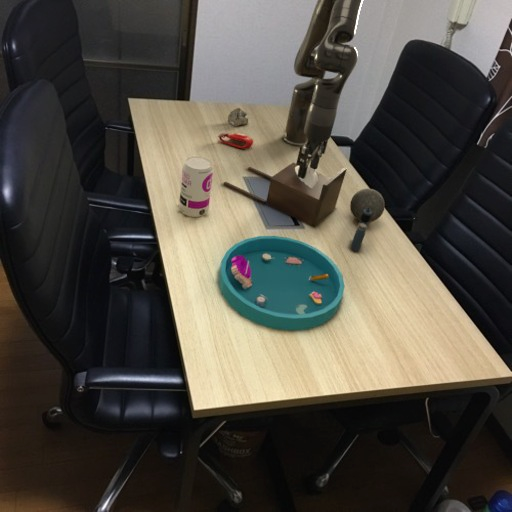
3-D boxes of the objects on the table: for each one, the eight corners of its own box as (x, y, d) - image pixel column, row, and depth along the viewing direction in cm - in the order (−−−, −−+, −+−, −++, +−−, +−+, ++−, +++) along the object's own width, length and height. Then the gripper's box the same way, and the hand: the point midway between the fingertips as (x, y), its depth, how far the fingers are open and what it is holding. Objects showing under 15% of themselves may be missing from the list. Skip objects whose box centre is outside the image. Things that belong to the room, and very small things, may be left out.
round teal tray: (219, 242, 134) (221, 224, 130) (329, 253, 138) (334, 235, 134) (218, 325, 110) (221, 306, 107) (351, 335, 114) (358, 316, 111)
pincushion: (290, 167, 153) (293, 150, 149) (309, 168, 154) (313, 151, 151) (300, 188, 144) (305, 171, 140) (320, 189, 145) (325, 172, 142)
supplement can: (213, 208, 146) (219, 162, 137) (198, 221, 140) (203, 173, 130) (188, 198, 148) (193, 152, 139) (173, 211, 142) (176, 163, 132)
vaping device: (361, 243, 144) (374, 207, 137) (358, 253, 140) (371, 217, 133) (352, 240, 144) (364, 204, 137) (349, 250, 140) (361, 214, 133)
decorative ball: (349, 206, 159) (358, 178, 153) (380, 216, 157) (391, 188, 151) (343, 222, 151) (352, 193, 145) (375, 232, 150) (386, 204, 144)
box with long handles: (249, 169, 168) (256, 129, 159) (335, 208, 157) (347, 168, 149) (223, 185, 157) (229, 144, 148) (313, 228, 146) (325, 186, 138)
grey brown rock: (227, 121, 194) (229, 104, 190) (246, 122, 197) (249, 105, 193) (229, 126, 191) (232, 109, 187) (249, 127, 194) (252, 109, 190)
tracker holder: (242, 132, 186) (260, 137, 180) (240, 144, 188) (257, 150, 181) (216, 129, 178) (233, 135, 171) (214, 142, 180) (231, 148, 173)
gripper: (321, 131, 131) (307, 186, 141) (343, 117, 142) (329, 169, 152) (296, 121, 134) (284, 176, 144) (319, 108, 144) (307, 160, 154)
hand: (307, 172), depth 148 cm, fingers closed on pincushion, 7 cm apart
